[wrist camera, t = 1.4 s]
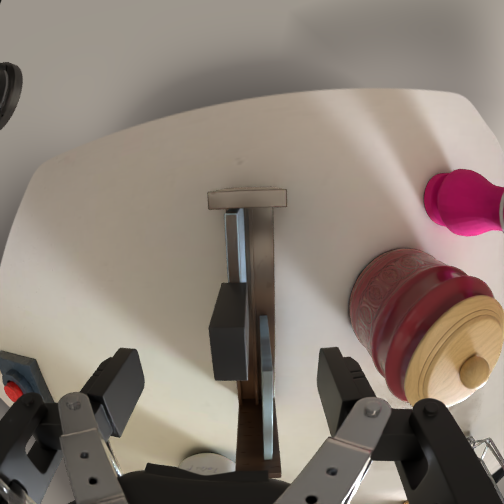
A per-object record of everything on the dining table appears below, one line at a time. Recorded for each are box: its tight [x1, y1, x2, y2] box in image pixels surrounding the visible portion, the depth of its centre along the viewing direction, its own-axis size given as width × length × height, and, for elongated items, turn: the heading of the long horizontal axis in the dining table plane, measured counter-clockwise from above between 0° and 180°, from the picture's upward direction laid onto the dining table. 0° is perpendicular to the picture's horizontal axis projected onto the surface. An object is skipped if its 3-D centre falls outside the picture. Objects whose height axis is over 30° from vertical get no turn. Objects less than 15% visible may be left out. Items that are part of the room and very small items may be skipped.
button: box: [4, 381, 23, 402], centre depth 32 cm, size 4×4×2 cm
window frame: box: [208, 187, 287, 478], centre depth 26 cm, size 26×4×14 cm, turn 2°
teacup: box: [178, 453, 236, 475], centre depth 35 cm, size 14×11×8 cm
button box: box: [0, 351, 54, 403], centre depth 34 cm, size 10×10×4 cm
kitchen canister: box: [349, 249, 504, 407], centre depth 23 cm, size 13×13×18 cm
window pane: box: [209, 208, 249, 381], centre depth 21 cm, size 12×2×17 cm, turn 2°
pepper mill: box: [424, 169, 504, 236], centre depth 20 cm, size 7×7×20 cm
